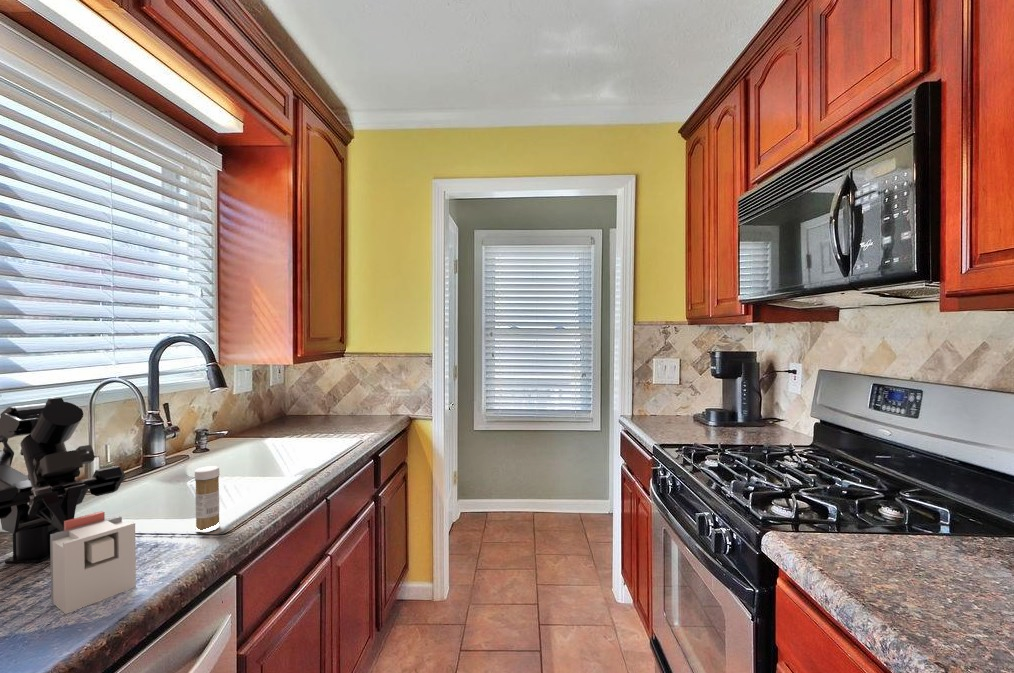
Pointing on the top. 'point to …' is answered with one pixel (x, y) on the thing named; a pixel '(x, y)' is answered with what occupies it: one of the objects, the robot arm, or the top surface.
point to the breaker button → (95, 547)
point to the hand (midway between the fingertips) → (68, 532)
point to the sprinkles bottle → (207, 496)
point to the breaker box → (91, 564)
